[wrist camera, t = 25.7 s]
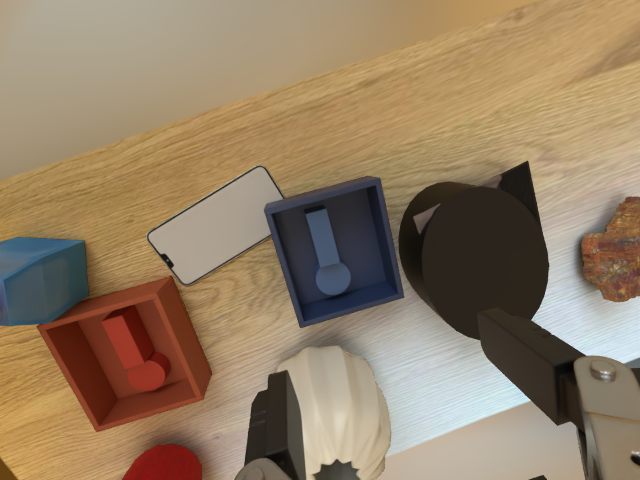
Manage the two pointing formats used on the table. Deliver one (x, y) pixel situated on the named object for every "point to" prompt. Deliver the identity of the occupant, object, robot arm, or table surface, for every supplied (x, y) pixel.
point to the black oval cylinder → (476, 248)
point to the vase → (339, 414)
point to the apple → (165, 464)
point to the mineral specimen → (615, 254)
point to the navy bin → (352, 246)
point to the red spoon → (136, 349)
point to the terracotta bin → (105, 366)
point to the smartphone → (216, 226)
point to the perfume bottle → (40, 279)
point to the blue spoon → (326, 253)
